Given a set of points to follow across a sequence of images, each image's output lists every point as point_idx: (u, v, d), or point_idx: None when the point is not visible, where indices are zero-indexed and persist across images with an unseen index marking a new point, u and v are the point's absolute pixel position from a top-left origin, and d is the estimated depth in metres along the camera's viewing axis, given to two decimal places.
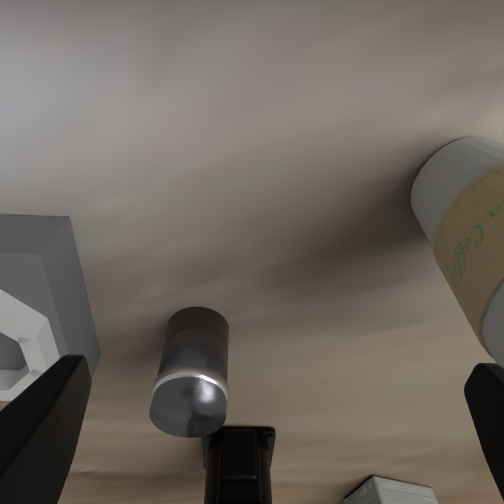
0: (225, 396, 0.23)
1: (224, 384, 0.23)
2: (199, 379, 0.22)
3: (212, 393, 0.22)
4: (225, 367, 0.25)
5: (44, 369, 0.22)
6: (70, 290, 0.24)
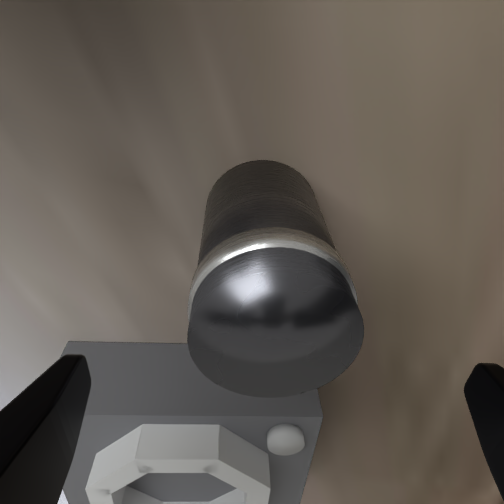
0: (261, 248, 0.09)
1: (237, 241, 0.10)
2: (193, 298, 0.10)
3: (209, 288, 0.09)
4: (249, 212, 0.11)
5: (201, 461, 0.15)
6: (144, 373, 0.18)
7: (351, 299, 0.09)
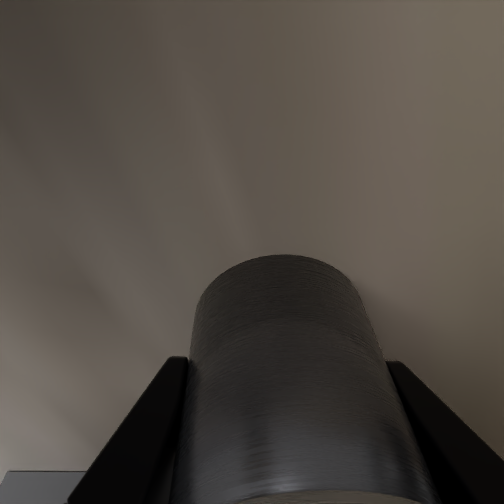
0: None
1: None
2: None
3: None
4: (267, 413, 0.06)
5: None
6: None
7: None
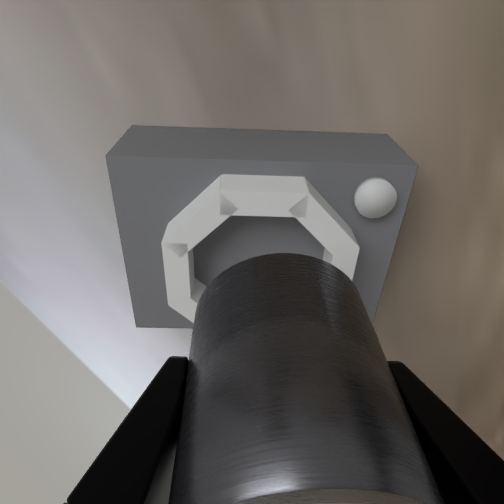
0: None
1: None
2: None
3: None
4: (267, 411, 0.06)
5: (291, 196, 0.14)
6: (217, 141, 0.16)
7: None
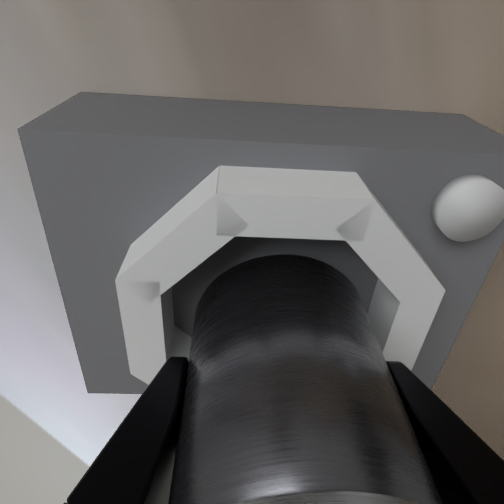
0: None
1: None
2: None
3: None
4: (267, 413, 0.06)
5: (342, 205, 0.08)
6: (212, 115, 0.10)
7: None
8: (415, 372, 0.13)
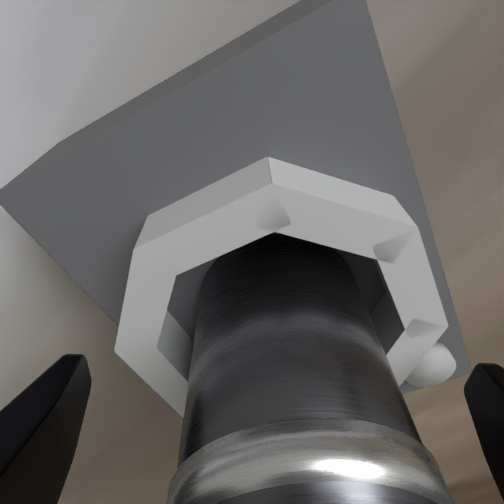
0: (298, 484, 0.05)
1: (251, 453, 0.05)
2: None
3: None
4: (267, 361, 0.06)
5: (436, 311, 0.09)
6: None
7: None
8: None
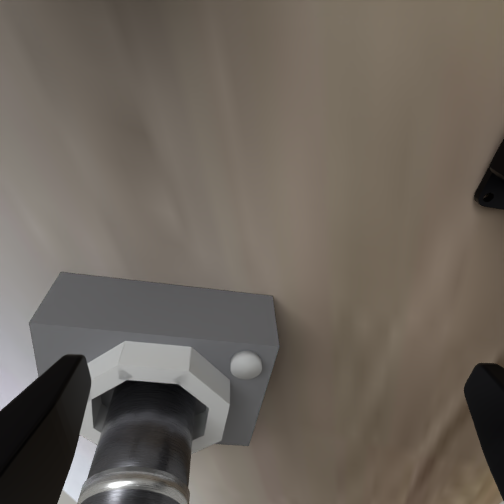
0: None
1: (78, 500, 0.16)
2: None
3: None
4: (93, 459, 0.17)
5: (174, 372, 0.18)
6: (128, 302, 0.20)
7: None
8: (239, 432, 0.24)
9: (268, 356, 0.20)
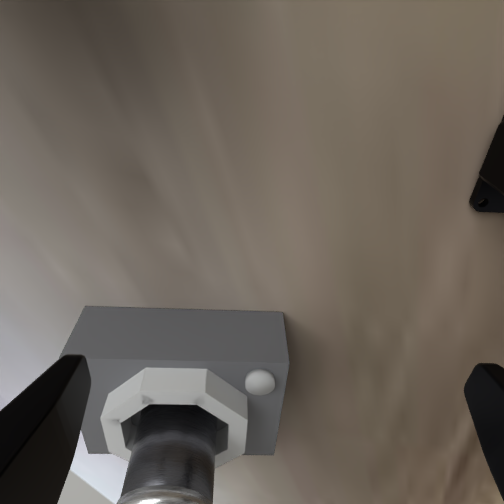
0: None
1: None
2: None
3: None
4: (125, 479, 0.19)
5: (192, 394, 0.20)
6: (147, 330, 0.22)
7: None
8: (263, 443, 0.25)
9: (280, 372, 0.21)
